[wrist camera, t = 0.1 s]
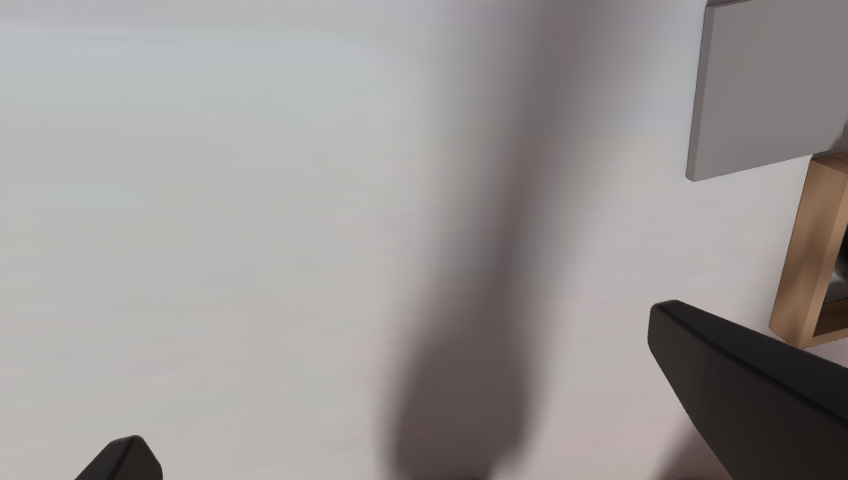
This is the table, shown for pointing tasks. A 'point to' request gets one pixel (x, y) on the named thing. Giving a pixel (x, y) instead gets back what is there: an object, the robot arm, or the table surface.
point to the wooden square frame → (815, 259)
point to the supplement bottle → (842, 258)
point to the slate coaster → (768, 84)
